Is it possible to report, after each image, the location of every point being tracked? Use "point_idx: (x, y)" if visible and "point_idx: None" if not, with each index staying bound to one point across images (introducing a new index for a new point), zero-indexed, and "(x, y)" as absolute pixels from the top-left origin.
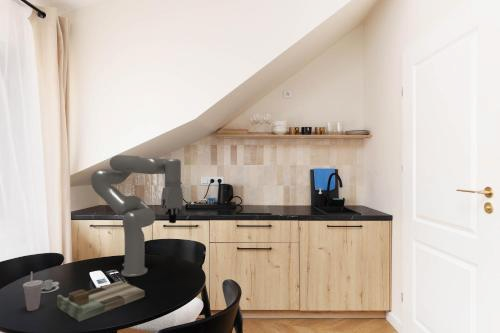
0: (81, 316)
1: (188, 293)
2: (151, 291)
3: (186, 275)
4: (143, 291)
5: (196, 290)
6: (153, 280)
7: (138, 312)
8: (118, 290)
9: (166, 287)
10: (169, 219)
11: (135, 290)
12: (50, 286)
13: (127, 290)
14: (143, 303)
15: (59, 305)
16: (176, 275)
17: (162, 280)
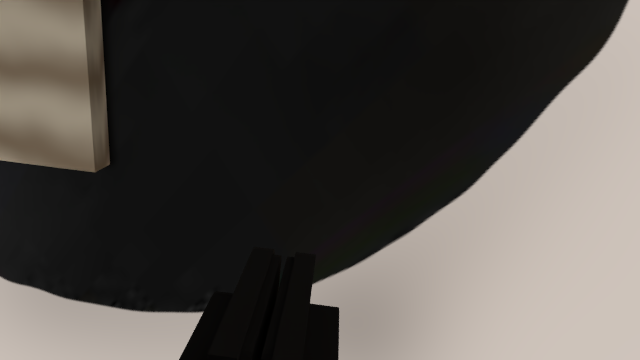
0: None
1: None
2: (161, 146)
3: (405, 146)
4: (90, 170)
5: None
6: (257, 44)
7: (25, 245)
8: (11, 64)
9: (232, 171)
10: (207, 319)
11: (67, 135)
12: None
13: (42, 102)
14: (74, 207)
15: None
16: (379, 99)
17: (283, 87)
